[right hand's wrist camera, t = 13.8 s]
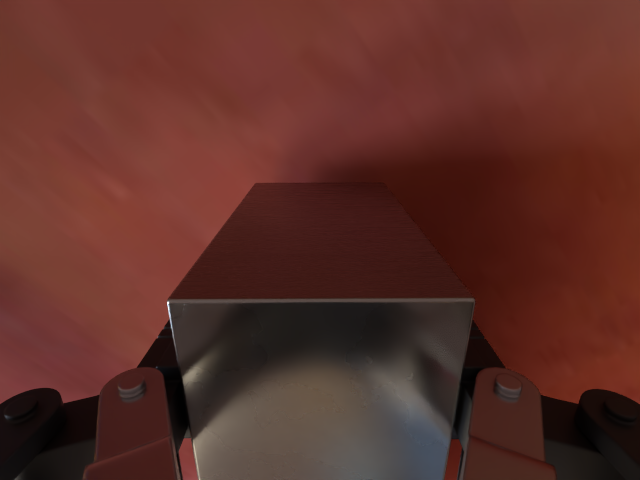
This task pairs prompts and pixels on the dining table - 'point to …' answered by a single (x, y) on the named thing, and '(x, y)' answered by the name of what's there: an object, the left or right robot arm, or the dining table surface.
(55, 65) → the dining table surface
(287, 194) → the box
